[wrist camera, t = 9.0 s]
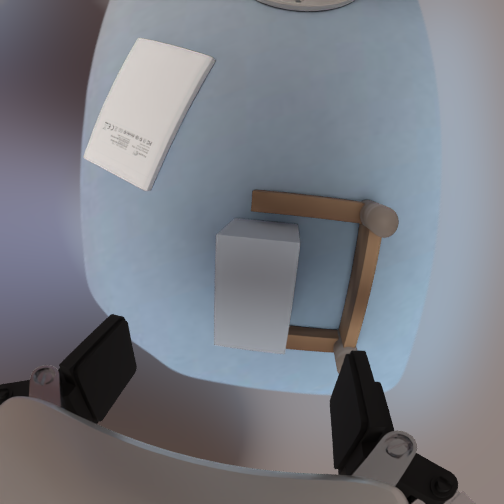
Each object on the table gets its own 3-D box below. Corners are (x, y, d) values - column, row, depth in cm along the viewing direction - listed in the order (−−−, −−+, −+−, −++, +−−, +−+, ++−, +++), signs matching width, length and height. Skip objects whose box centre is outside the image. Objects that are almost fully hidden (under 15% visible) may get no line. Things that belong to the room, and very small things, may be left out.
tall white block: (235, 217, 23) (216, 234, 17) (297, 223, 22) (300, 243, 16) (230, 306, 25) (214, 344, 19) (286, 313, 24) (284, 354, 19)
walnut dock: (255, 186, 22) (246, 190, 17) (380, 201, 20) (400, 209, 16) (244, 336, 25) (235, 366, 21) (349, 346, 24) (357, 376, 20)
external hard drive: (217, 63, 19) (153, 190, 23) (145, 42, 19) (91, 157, 23) (212, 56, 18) (145, 191, 22) (136, 36, 18) (80, 157, 22)
